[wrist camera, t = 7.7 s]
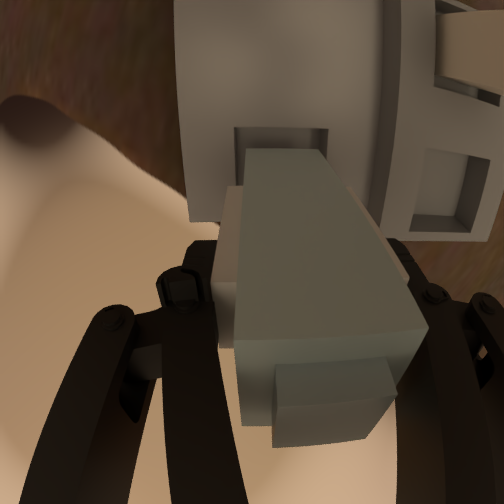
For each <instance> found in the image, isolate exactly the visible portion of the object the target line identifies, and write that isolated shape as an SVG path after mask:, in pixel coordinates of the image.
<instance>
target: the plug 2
mask: <svg viewBox="0 0 504 504" xmlns="http://www.w3.org/2000/svg"><path fill="white" fill-rule="evenodd" d="M435 18H436V48H435V72H434V76H438V77H442V78H445V79H448V80H452V81H455V82H458V83H461V84H465V85H468V86H471V87H474V88H478V89H482V90H486V91H489V92H493V93H496V94H499V95H503V96H504V10H484V11H469V12H458V13H449V14H441V15H435Z"/></svg>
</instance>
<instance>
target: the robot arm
mask: <svg viewBox="0 0 504 504" xmlns="http://www.w3.org/2000/svg"><path fill="white" fill-rule="evenodd" d="M346 188H347V190H348V191H349V193H350V194H351V196H352V197H353V198H354V200H355V201H356V203H357V204H358V206H359V207H360V209H361V210H362V212H363V213H364V215H365V217H366V218H367V220H368V221H369V223H370V224H371V226H372V227H373V229H374V231H375V232H376V234H377V235H378V237H379V239H380V240H381V242H382V244H383V245H384V247H385V248H386V250H387V252H388V253H389V255H390V257H391V258H392V260H393V262H394V264H395V265H396V267H397V269H398V271H399V272H400V274H401V276H402V278H403V279H404V281H405V283H406V285H407V287H408V288H409V290H410V292H411V294H412V296H413V298H414V299H415V301H416V303H417V305H418V307H419V309H420V311H421V313H422V315H423V317H424V319H425V321H426V323H427V325H428V327H429V329H428V331H427V333H426V335H425V337H424V339H423V341H422V342H421V344H420V346H419V348H418V350H417V352H416V353H415V355H414V357H413V359H412V360H411V362H410V364H409V366H408V367H407V369H406V371H405V372H404V374H403V376H402V377H401V379H400V381H399V382H398V384H397V385H396V390H397V393H398V395H397V396H396V398H395V406H396V407H395V408H396V426H397V494H396V504H504V308H503V307H502V305H501V304H500V303H499V302H498V301H497V300H496V299H495V298H494V297H492V296H491V295H489V294H487V293H481V292H478V293H475V294H474V295H473V296H472V298H471V300H470V302H469V303H464V302H459V301H454V300H452V299H451V297H450V295H449V294H448V292H447V291H446V290H445V289H443V288H442V287H440V286H438V285H436V284H433V283H429V282H428V280H427V279H426V277H425V276H424V274H423V272H422V271H421V269H420V268H419V266H418V265H417V263H416V262H414V261H415V260H414V259H413V257H412V256H411V255H410V253H409V251H408V250H407V248H406V247H405V245H403V244H402V243H401V242H400V241H398V240H397V239H396V238H385V237H384V235H383V233H382V232H381V230H380V229H379V227H378V226H377V224H376V223H375V221H374V220H373V218H372V217H371V215H370V214H369V212H368V211H367V210H366V208H365V207H364V205H363V204H362V202H361V201H360V200H359V198H358V197H357V195H356V194H355V193H354V191H353V190H352V188H351V187H346ZM242 197H243V186H228V187H227V192H226V198H225V203H224V208H223V213H222V219H221V224H220V230H219V236H218V240H196V241H194V242H193V243H192V244H191V245H190V246H189V247H188V248H187V250H186V254H185V257H184V260H183V264H182V266H177V267H174V268H170V269H168V270H167V271H165V272H163V273H162V274H161V275H160V276H159V277H158V279H157V282H156V287H157V291H158V295H159V298H160V302H161V305H162V307H161V308H159V309H157V310H154V311H150V312H146V313H141V314H137V315H134V312H133V310H132V309H130V308H129V307H128V306H124V305H121V304H119V305H111V306H108V307H105V308H103V309H102V310H100V311H99V312H98V313H97V314H96V315H95V316H94V317H93V319H92V321H91V323H90V325H89V327H88V328H87V330H86V332H85V335H84V336H83V339H82V340H81V342H80V345H79V347H78V349H77V351H76V353H75V355H74V357H73V359H72V361H71V363H70V366H69V368H68V370H67V372H66V374H65V376H64V379H63V381H62V383H61V385H60V388H59V390H58V392H57V395H56V397H55V399H54V402H53V404H52V407H51V409H50V412H49V414H48V417H47V419H46V422H45V424H44V427H43V430H42V432H41V435H40V438H39V441H38V443H37V446H36V449H35V452H34V455H33V458H32V461H31V464H30V467H29V470H28V474H27V477H26V480H25V483H24V487H23V490H22V494H21V497H20V501H19V504H127V503H128V498H129V493H130V488H131V483H132V479H133V474H134V469H135V465H136V460H137V456H138V452H139V447H140V443H141V439H142V435H143V430H144V426H145V422H146V418H147V414H148V410H149V406H150V402H151V398H152V395H153V391H154V387H155V383H156V380H157V378H162V393H163V414H164V432H165V446H166V458H167V468H168V477H169V487H170V494H171V502H172V504H249V503H248V499H247V495H246V491H245V487H244V482H243V478H242V473H241V469H240V464H239V460H238V455H237V450H236V446H235V441H234V437H233V432H232V426H231V421H230V416H229V411H228V406H227V400H226V396H225V390H224V385H223V379H222V373H221V368H220V362H219V356H218V342H219V348H234V342H233V337H234V320H235V303H236V286H237V271H238V255H239V240H240V225H241V211H242ZM483 346H485V348H486V350H487V352H488V353H487V354H486V356H485V357H484V358H483V359H482V358H481V357H480V356H479V352H480V351H481V349H482V348H483Z"/></svg>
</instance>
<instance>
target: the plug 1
mask: <svg viewBox="0 0 504 504" xmlns="http://www.w3.org/2000/svg"><path fill="white" fill-rule="evenodd" d="M428 329H429V327H428V325H427V323H426V321H425V319H424V317H423V315H422V313H421V311H420V309H419V307H418V305H417V303H416V301H415V299H414V298H413V296H412V294H411V292H410V290H409V288H408V287H407V285H406V283H405V281H404V279H403V278H402V276H401V274H400V272H399V271H398V269H397V267H396V265H395V264H394V262H393V260H392V258H391V257H390V255H389V253H388V252H387V250H386V248H385V247H384V245H383V244H382V242H381V240H380V239H379V237H378V235H377V234H376V232H375V231H374V229H373V227H372V226H371V224H370V223H369V221H368V220H367V218H366V217H365V215H364V213H363V212H362V210H361V209H360V207H359V206H358V204H357V203H356V201H355V200H354V198H353V197H352V196H351V194H350V193H349V191H348V190H347V188H346V187H345V185H344V184H343V183H342V181H341V180H340V178H339V177H338V175H337V174H336V173H335V171H334V170H333V169H332V167H331V166H330V164H329V163H328V162H327V160H326V159H325V158H324V156H323V155H322V154H321V152H320V151H319V150H318V149H289V148H247V149H246V156H245V169H244V183H243V197H242V211H241V225H240V240H239V255H238V271H237V286H236V303H235V320H234V337H233V342H234V352H235V364H236V374H237V384H238V394H239V403H240V413H241V422H242V426H272V447H273V448H281V447H299V446H311V445H322V444H331V443H339V442H347V441H353V440H360V439H365V438H366V437H367V436H368V434H369V433H370V432H371V431H372V429H373V428H374V427H375V425H376V424H377V423H378V421H379V420H380V419H381V417H382V416H383V415H384V413H385V412H386V410H387V409H388V408H389V406H390V405H391V403H392V402H393V401H394V399H395V398H396V396H397V395H398V393H397V390H396V385H397V384H398V382H399V381H400V379H401V377H402V376H403V374H404V372H405V371H406V369H407V367H408V366H409V364H410V362H411V360H412V359H413V357H414V355H415V353H416V352H417V350H418V348H419V346H420V344H421V342H422V341H423V339H424V337H425V335H426V333H427V331H428Z"/></svg>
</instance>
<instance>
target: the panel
mask: <svg viewBox="0 0 504 504" xmlns="http://www.w3.org/2000/svg"><path fill="white" fill-rule="evenodd" d="M469 11H478V10H476V9H474V8H472V7H469V6H467V5H465V4H463V3H461V2H458V1H456V0H174V38H175V62H176V81H177V97H178V111H179V124H180V136H181V147H182V157H183V167H184V177H185V186H186V195H187V203H188V211H189V220H190V222H221V219H222V213H223V208H224V203H225V198H226V192H227V187H228V186H243V183H244V169H245V156H246V149H247V148H289V149H318V150H319V151H320V152H321V154H322V155H323V156H324V158H325V159H326V160H327V162H328V163H329V164H330V166H331V167H332V169H333V170H334V171H335V173H336V174H337V175H338V177H339V178H340V180H341V181H342V183H343V184H344V185H345V187H351V188H352V190H353V191H354V193H355V194H356V195H357V197H358V198H359V200H360V201H361V202H362V204H363V205H364V207H365V208H366V210H367V211H368V212H369V214H370V215H371V217H372V218H373V220H374V221H375V223H376V224H377V226H378V227H379V229H380V230H381V232H382V233H383V235H384V237H385V238H396V239H397V240H398V241H487V240H488V237H489V235H490V232H491V229H492V226H493V223H494V220H495V217H496V214H497V211H498V208H499V204H500V201H501V197H502V194H503V190H504V96H503V95H499V94H496V93H493V92H489V91H486V90H482V89H478V88H474V87H471V86H468V85H465V84H461V83H458V82H455V81H452V80H448V79H445V78H442V77H438V76H434V72H435V48H436V18H435V15H441V14H449V13H458V12H469Z"/></svg>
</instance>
